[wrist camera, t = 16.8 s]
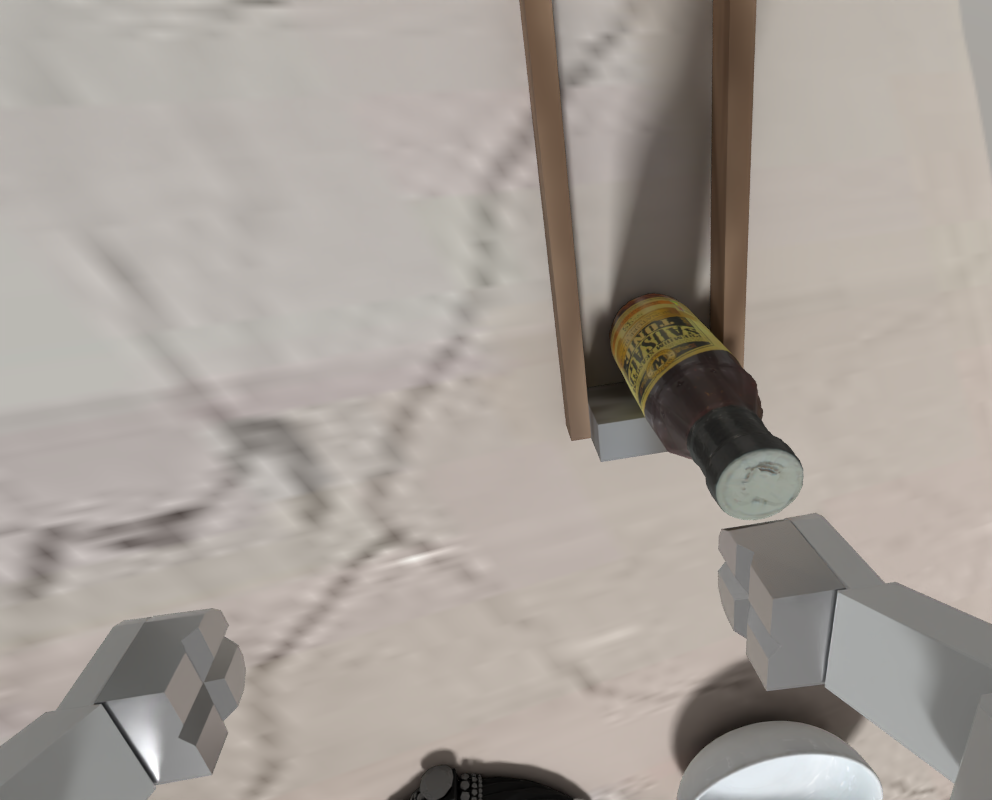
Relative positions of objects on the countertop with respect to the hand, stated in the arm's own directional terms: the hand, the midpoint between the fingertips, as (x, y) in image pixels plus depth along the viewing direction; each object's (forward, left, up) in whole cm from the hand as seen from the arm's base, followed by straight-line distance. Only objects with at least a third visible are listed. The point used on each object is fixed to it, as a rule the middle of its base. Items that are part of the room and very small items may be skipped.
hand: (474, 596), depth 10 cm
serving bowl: (+22, -62, -34) cm, 74 cm away
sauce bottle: (+12, -9, -34) cm, 38 cm away
